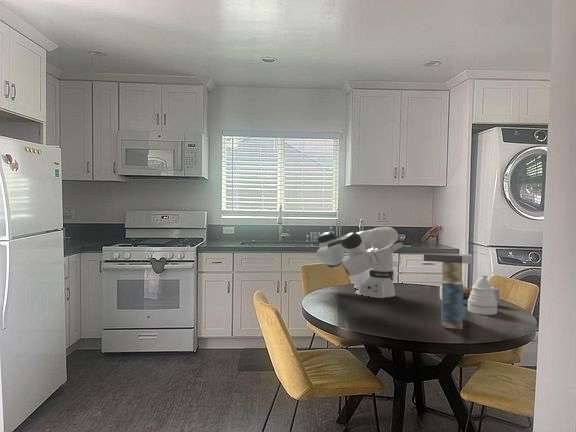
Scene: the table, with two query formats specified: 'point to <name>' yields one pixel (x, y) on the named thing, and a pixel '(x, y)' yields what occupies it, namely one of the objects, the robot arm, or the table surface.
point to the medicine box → (496, 295)
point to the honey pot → (482, 298)
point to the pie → (466, 292)
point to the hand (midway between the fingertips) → (401, 244)
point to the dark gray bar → (449, 258)
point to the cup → (360, 278)
